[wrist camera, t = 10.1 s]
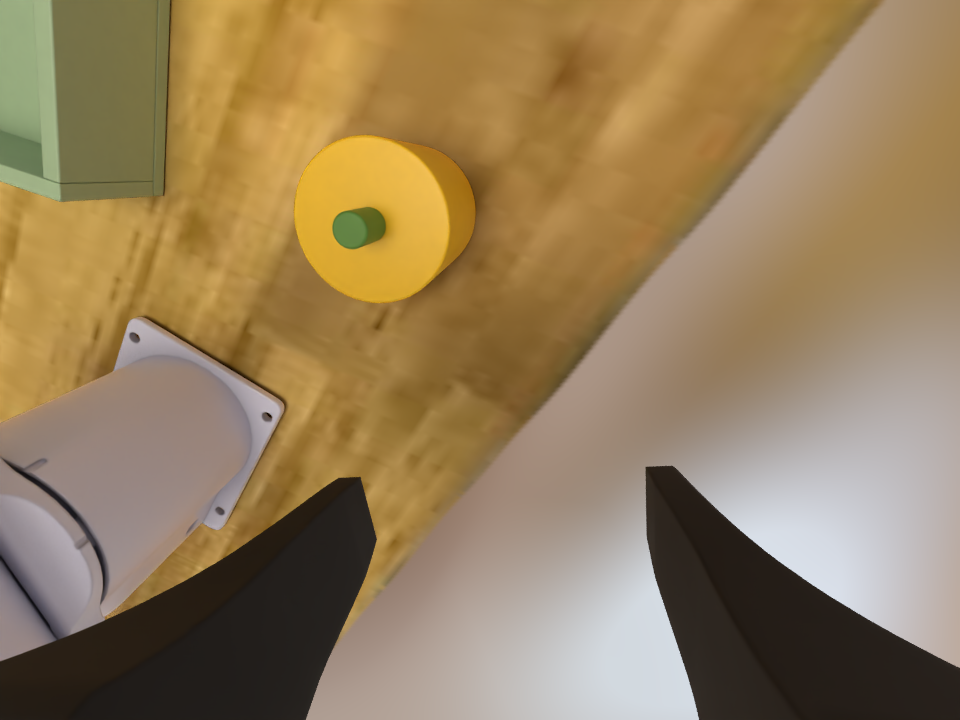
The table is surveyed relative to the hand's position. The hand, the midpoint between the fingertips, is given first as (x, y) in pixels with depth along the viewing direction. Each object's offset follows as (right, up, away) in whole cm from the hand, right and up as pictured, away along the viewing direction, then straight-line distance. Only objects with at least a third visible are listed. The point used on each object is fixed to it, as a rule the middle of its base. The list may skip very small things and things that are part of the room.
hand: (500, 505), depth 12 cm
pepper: (-3, +10, +7) cm, 12 cm away
